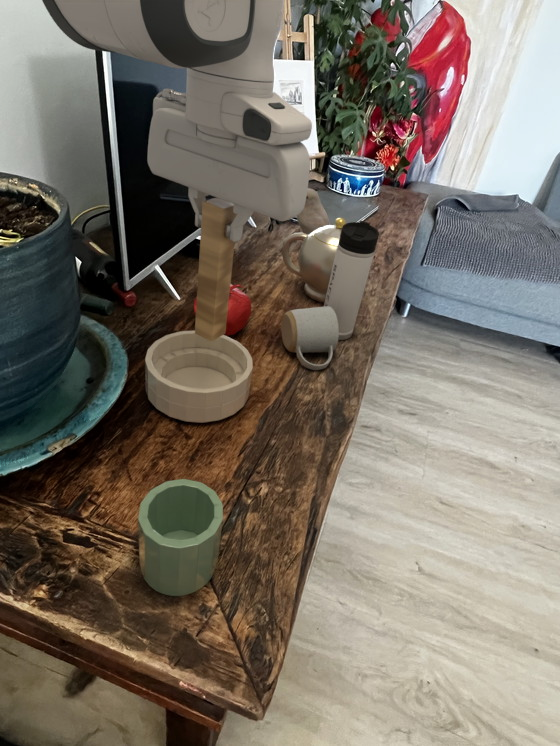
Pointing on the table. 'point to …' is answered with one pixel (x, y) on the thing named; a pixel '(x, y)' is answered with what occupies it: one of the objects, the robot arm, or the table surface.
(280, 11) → the robot arm
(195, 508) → the pot
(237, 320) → the pomegranate
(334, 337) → the ceramic mug
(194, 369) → the stepped round dish
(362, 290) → the travel mug
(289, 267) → the teapot
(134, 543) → the table surface
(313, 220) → the bird
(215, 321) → the long wooden block
